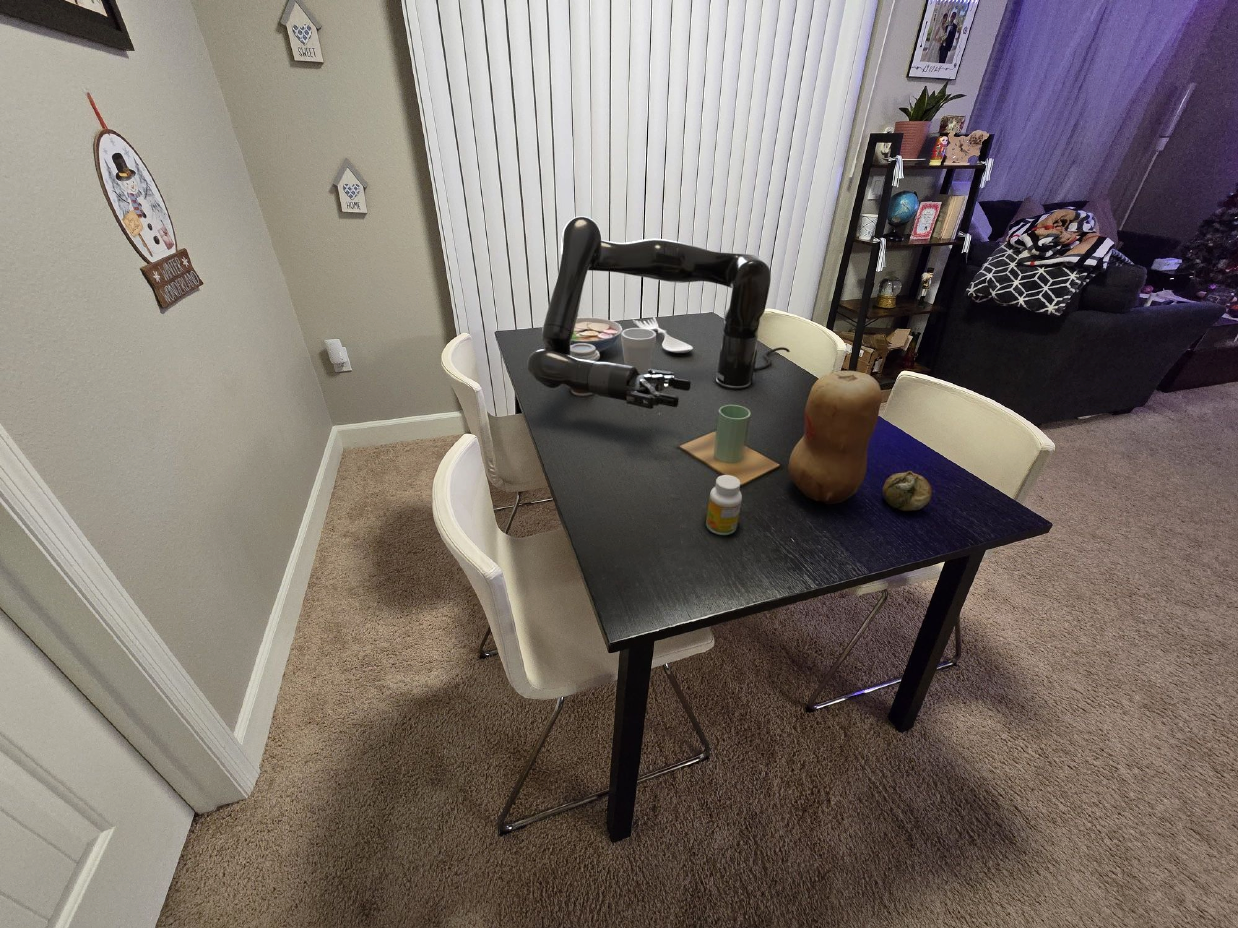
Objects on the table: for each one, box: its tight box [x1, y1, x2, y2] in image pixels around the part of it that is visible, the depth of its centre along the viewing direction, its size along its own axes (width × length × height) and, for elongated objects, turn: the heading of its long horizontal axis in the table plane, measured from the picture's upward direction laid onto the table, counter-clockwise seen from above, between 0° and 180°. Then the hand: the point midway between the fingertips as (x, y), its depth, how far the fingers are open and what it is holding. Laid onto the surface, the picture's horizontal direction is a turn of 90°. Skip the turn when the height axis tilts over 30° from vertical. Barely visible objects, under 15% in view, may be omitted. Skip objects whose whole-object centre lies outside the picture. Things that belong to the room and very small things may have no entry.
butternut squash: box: [787, 370, 883, 505], centre depth 90 cm, size 14×13×25 cm
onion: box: [882, 470, 933, 512], centre depth 92 cm, size 8×8×8 cm
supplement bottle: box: [705, 474, 743, 536], centre depth 86 cm, size 5×5×10 cm
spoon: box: [632, 316, 694, 354], centre depth 167 cm, size 9×32×4 cm, turn 22°
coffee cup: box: [570, 343, 601, 397], centre depth 132 cm, size 9×9×12 cm
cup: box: [713, 404, 752, 463], centre depth 105 cm, size 6×6×10 cm
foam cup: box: [620, 327, 657, 375], centre depth 139 cm, size 10×9×13 cm
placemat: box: [678, 430, 781, 487], centre depth 108 cm, size 18×12×1 cm, turn 37°
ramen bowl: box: [570, 316, 623, 353], centre depth 157 cm, size 25×23×8 cm
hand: (684, 393), depth 105 cm, fingers open, 8 cm apart
